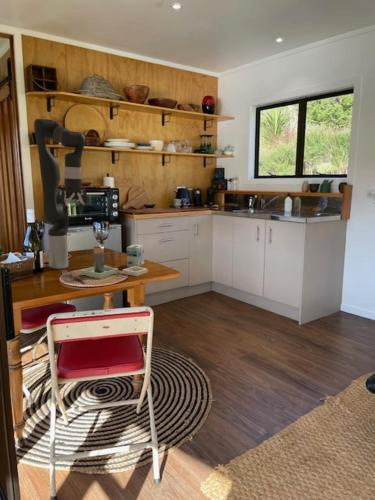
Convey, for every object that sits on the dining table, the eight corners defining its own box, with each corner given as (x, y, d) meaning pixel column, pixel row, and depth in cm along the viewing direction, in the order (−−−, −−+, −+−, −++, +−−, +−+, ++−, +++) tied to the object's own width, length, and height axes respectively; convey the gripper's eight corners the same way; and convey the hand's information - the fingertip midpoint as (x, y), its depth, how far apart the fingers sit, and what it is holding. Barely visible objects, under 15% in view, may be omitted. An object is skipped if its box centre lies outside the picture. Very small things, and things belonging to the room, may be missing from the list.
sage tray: (80, 275, 185) (80, 270, 184) (99, 269, 196) (99, 265, 195) (99, 279, 178) (99, 273, 178) (118, 273, 189) (118, 268, 189)
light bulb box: (138, 267, 202) (138, 247, 200) (126, 266, 203) (126, 247, 201) (144, 263, 212) (144, 244, 210) (133, 262, 214) (133, 243, 212)
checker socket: (122, 273, 189) (122, 269, 189) (134, 270, 197) (133, 266, 196) (136, 276, 185) (136, 272, 184) (147, 272, 192) (147, 268, 192)
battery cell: (92, 272, 186) (91, 245, 183) (99, 270, 190) (98, 244, 187) (99, 274, 183) (98, 246, 181) (106, 272, 188) (105, 245, 185)
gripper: (79, 176, 178) (79, 211, 181) (54, 176, 166) (55, 213, 170) (90, 178, 174) (90, 212, 177) (65, 177, 162) (65, 215, 166)
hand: (73, 213), depth 174 cm, fingers open, 8 cm apart
